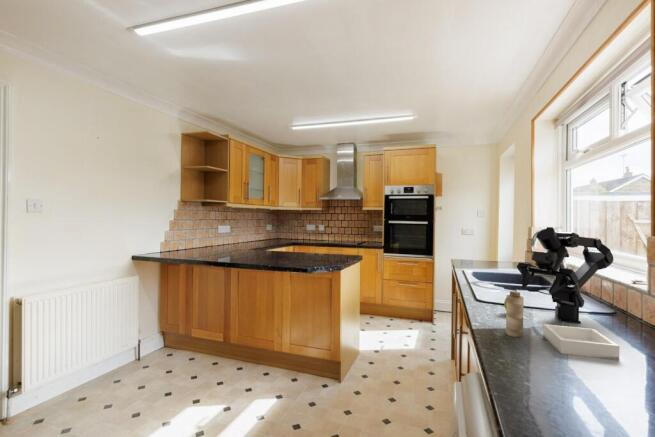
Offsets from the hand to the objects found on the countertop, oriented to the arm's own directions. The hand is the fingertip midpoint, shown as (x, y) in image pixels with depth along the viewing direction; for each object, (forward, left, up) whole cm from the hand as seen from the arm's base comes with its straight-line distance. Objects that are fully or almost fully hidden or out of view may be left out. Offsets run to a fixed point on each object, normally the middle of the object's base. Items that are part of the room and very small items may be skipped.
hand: (535, 290), depth 113 cm
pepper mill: (+9, +10, -14) cm, 19 cm away
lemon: (+4, -15, -14) cm, 21 cm away
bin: (-7, +15, -14) cm, 21 cm away
